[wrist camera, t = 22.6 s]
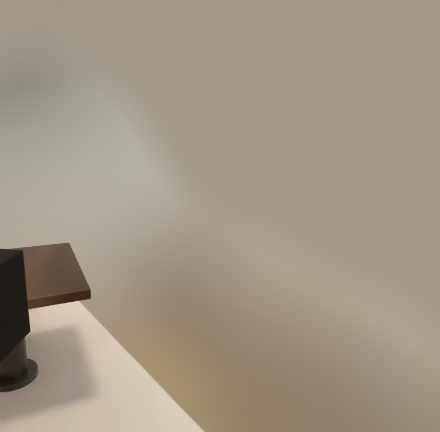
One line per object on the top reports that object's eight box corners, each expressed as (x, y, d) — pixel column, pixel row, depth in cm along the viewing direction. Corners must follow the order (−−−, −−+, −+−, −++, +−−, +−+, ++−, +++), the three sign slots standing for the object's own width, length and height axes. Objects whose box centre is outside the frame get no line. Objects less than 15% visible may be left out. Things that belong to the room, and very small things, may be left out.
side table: (74, 329, 66) (69, 242, 62) (95, 400, 50) (90, 289, 47) (-59, 356, 58) (-74, 257, 54) (-82, 449, 42) (-105, 320, 38)
